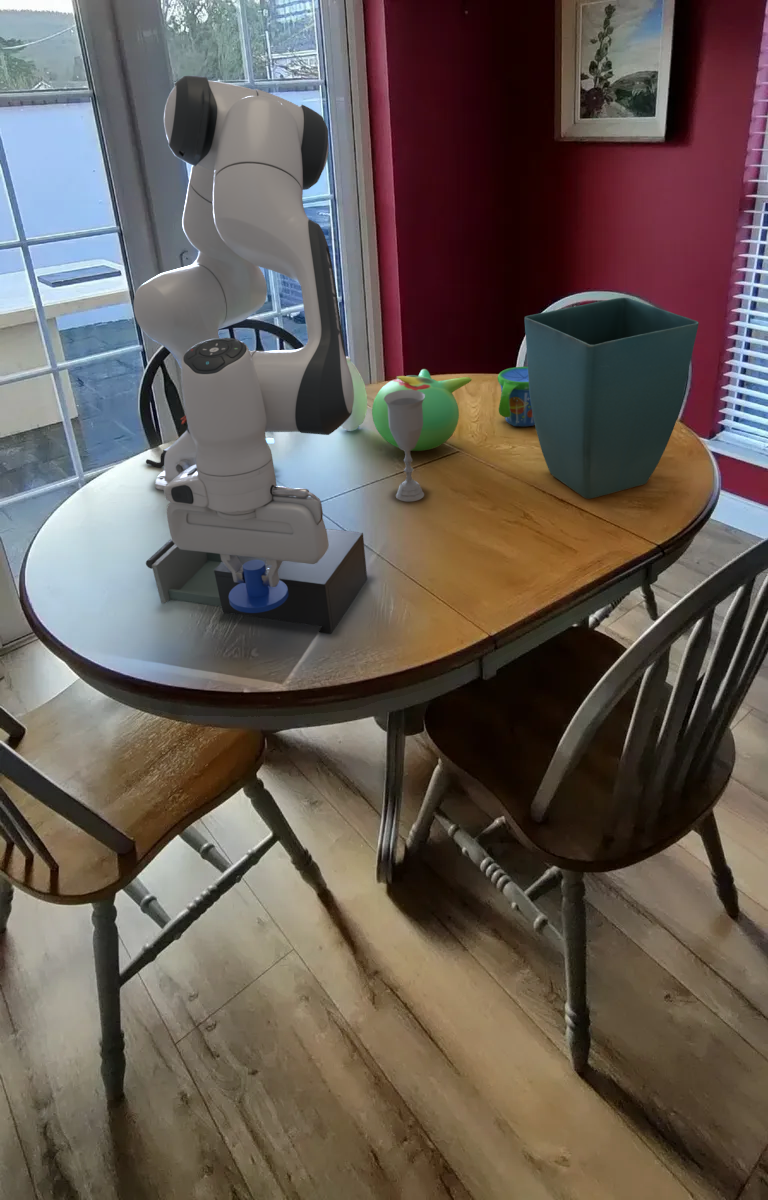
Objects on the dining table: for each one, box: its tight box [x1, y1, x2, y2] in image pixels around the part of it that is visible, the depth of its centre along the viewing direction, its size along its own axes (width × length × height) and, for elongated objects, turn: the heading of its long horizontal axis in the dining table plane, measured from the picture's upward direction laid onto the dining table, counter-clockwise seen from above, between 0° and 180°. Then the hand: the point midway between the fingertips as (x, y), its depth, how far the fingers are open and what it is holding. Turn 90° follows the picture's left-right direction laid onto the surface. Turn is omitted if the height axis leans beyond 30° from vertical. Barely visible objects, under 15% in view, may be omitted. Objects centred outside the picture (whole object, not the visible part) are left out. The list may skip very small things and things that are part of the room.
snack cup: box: [497, 366, 535, 428], centre depth 170 cm, size 16×10×10 cm
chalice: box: [384, 390, 425, 502], centre depth 142 cm, size 7×7×18 cm
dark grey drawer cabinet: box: [214, 528, 368, 635], centre depth 119 cm, size 17×15×8 cm
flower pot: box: [524, 297, 700, 500], centre depth 140 cm, size 20×20×28 cm
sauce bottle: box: [340, 355, 368, 432], centre depth 171 cm, size 8×8×18 cm
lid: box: [229, 560, 288, 613], centre depth 105 cm, size 8×8×5 cm
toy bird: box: [371, 368, 472, 452], centre depth 162 cm, size 18×17×15 cm
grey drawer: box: [145, 538, 223, 607], centre depth 123 cm, size 20×14×7 cm
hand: (256, 582), depth 105 cm, fingers closed on lid, 3 cm apart
